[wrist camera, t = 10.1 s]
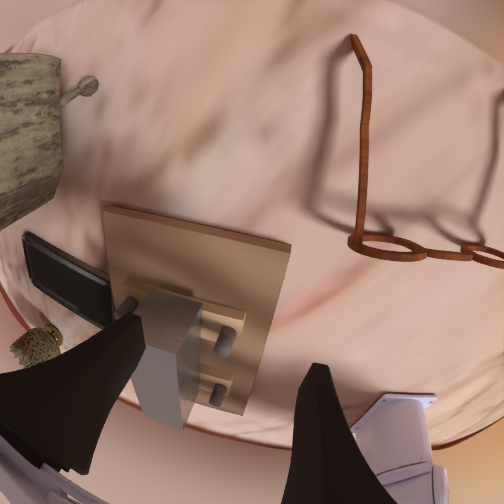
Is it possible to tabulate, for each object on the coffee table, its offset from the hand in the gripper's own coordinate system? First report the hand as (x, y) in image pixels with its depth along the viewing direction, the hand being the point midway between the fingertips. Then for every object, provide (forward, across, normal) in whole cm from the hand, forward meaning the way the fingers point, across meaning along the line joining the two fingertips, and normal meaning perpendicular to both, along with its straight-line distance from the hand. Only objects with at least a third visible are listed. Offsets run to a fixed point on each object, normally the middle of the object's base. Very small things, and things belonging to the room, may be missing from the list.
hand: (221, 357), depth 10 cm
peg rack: (+9, +5, +10) cm, 15 cm away
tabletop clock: (+10, +19, -7) cm, 22 cm away
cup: (+10, +27, +21) cm, 36 cm away
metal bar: (+7, +5, +10) cm, 13 cm away
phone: (+10, +20, +9) cm, 24 cm away
